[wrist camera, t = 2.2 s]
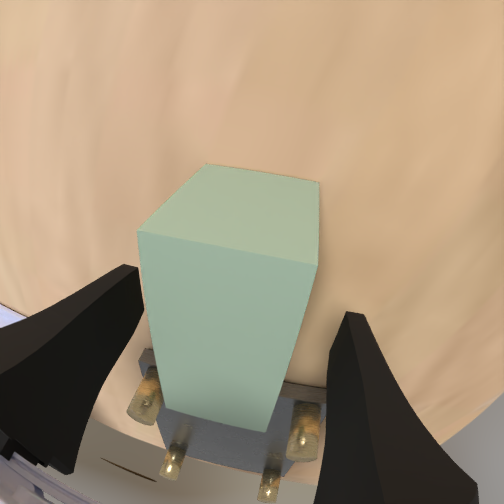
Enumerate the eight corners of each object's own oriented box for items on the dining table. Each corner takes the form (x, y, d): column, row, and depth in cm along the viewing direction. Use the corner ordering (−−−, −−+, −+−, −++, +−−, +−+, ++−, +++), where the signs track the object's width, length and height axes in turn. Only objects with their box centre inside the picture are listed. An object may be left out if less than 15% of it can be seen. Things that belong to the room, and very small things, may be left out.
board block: (202, 323, 15) (166, 407, 11) (206, 164, 11) (136, 230, 7) (282, 341, 15) (265, 432, 11) (319, 182, 11) (317, 265, 6)
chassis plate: (169, 440, 25) (156, 475, 22) (145, 348, 17) (116, 401, 14) (285, 467, 24) (278, 504, 21) (333, 389, 16) (329, 453, 13)
